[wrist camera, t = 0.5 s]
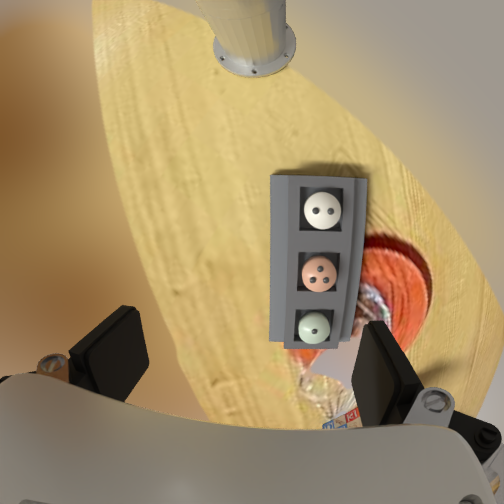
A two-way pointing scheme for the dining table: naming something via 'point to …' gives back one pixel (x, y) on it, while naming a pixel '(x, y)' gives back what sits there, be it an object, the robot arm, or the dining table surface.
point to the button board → (312, 244)
